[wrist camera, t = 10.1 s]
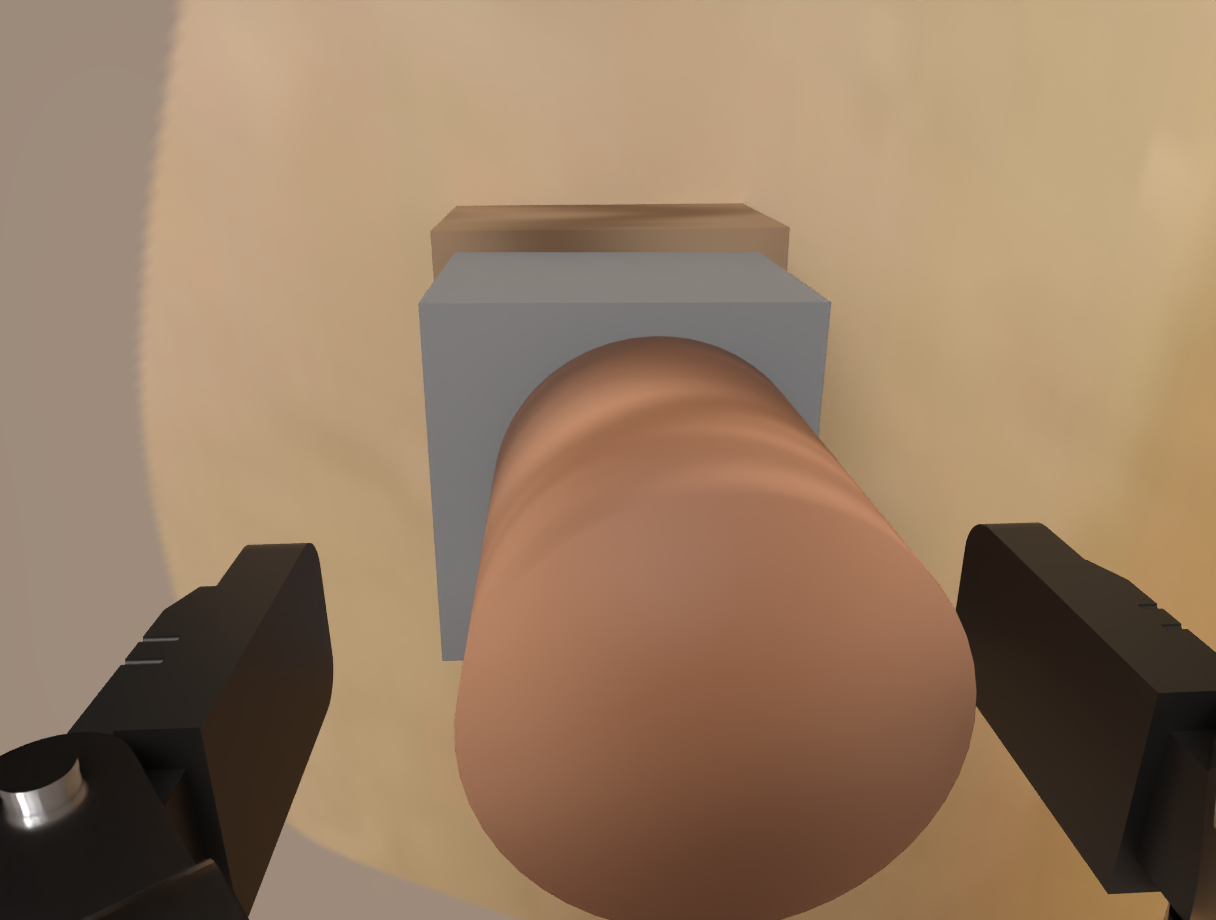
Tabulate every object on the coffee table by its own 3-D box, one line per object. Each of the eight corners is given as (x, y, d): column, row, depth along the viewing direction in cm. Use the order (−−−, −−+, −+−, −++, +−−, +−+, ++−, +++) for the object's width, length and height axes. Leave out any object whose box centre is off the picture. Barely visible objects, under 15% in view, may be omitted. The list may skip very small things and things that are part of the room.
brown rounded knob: (820, 329, 14) (1008, 481, 8) (803, 623, 15) (947, 916, 10) (482, 342, 13) (430, 507, 8) (504, 638, 15) (475, 947, 9)
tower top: (759, 252, 18) (830, 301, 13) (741, 527, 20) (796, 652, 16) (454, 252, 18) (418, 303, 13) (469, 531, 20) (442, 660, 15)
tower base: (741, 203, 23) (789, 227, 18) (729, 466, 25) (768, 547, 20) (457, 205, 22) (430, 231, 18) (473, 472, 25) (454, 556, 20)
